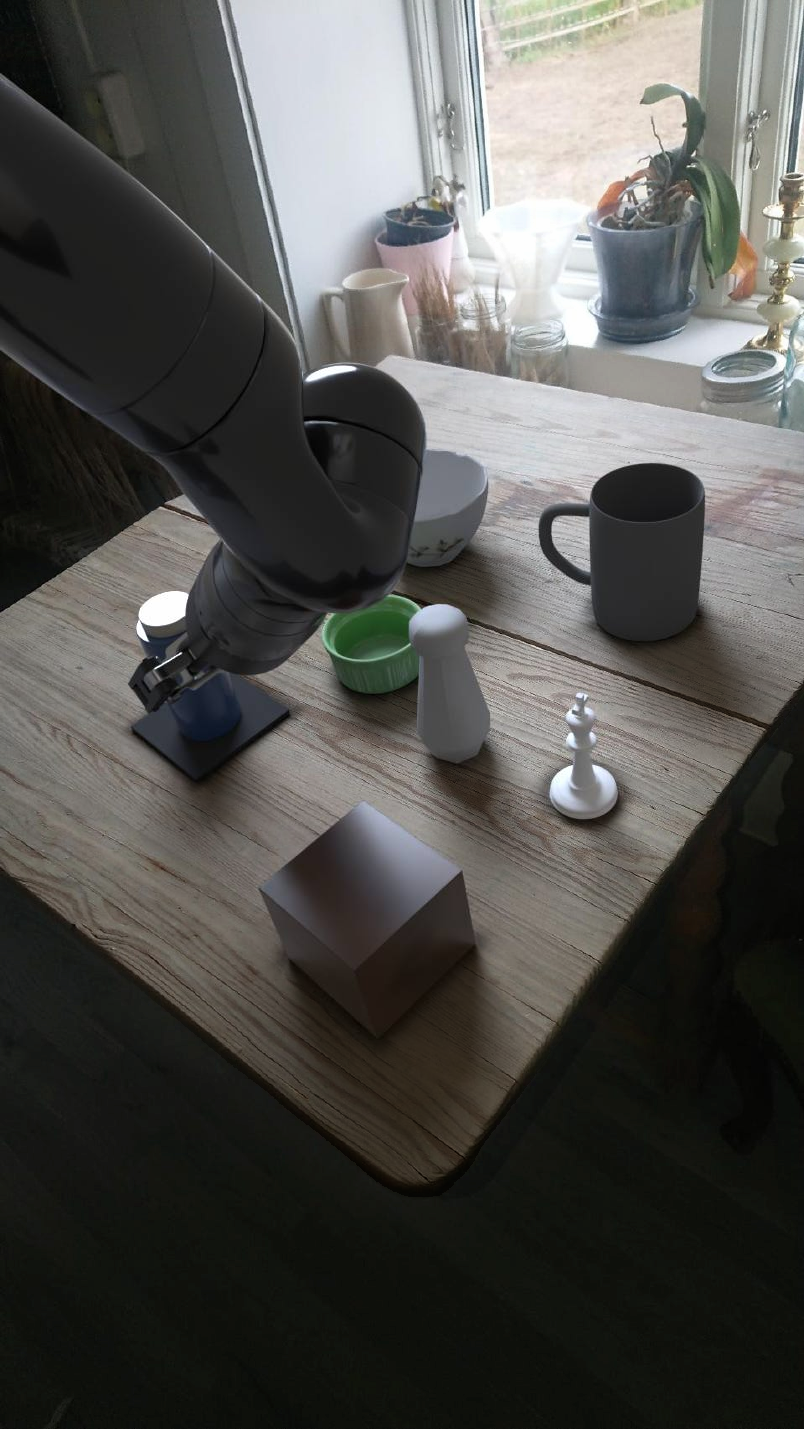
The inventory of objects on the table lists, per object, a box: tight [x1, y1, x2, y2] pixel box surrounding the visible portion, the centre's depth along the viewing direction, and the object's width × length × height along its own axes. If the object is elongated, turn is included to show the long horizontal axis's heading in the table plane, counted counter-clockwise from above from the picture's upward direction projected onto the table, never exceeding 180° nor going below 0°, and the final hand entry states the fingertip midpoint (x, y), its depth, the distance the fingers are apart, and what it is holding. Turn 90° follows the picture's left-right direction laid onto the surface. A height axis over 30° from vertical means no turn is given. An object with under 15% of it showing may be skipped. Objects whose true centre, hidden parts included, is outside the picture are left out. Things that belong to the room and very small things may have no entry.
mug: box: [538, 462, 706, 642], centre depth 82 cm, size 14×9×12 cm
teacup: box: [407, 448, 489, 568], centre depth 95 cm, size 15×12×8 cm
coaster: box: [130, 672, 291, 783], centre depth 84 cm, size 10×10×1 cm
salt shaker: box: [409, 603, 491, 764], centre depth 73 cm, size 6×6×13 cm
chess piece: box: [549, 692, 619, 820], centre depth 68 cm, size 5×5×10 cm
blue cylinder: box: [135, 590, 242, 741], centre depth 80 cm, size 6×6×12 cm
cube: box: [257, 800, 477, 1040], centre depth 62 cm, size 9×9×8 cm
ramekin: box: [321, 594, 422, 695], centre depth 84 cm, size 9×9×4 cm
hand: (212, 661), depth 73 cm, fingers open, 8 cm apart
